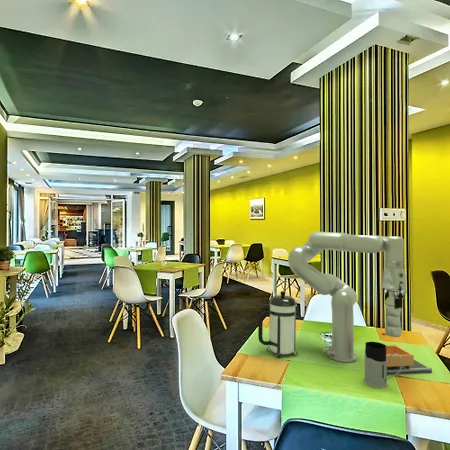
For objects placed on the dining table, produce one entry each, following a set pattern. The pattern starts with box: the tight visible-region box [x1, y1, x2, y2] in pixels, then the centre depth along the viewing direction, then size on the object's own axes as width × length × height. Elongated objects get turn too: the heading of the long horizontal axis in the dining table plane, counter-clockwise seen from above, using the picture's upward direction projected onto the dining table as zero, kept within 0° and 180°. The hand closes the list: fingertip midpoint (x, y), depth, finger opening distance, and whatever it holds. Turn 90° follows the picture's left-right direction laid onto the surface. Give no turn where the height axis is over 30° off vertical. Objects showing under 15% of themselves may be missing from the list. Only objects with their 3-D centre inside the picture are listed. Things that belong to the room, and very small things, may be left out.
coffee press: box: [257, 290, 299, 359], centre depth 159 cm, size 17×16×30 cm
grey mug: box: [363, 341, 403, 389], centre depth 129 cm, size 9×14×15 cm, turn 43°
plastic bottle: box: [384, 290, 403, 338], centre depth 145 cm, size 6×7×20 cm
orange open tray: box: [385, 344, 415, 369], centre depth 145 cm, size 12×12×6 cm
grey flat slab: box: [387, 359, 433, 376], centre depth 146 cm, size 20×13×2 cm, turn 97°
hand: (393, 305), depth 145 cm, fingers closed on plastic bottle, 6 cm apart
